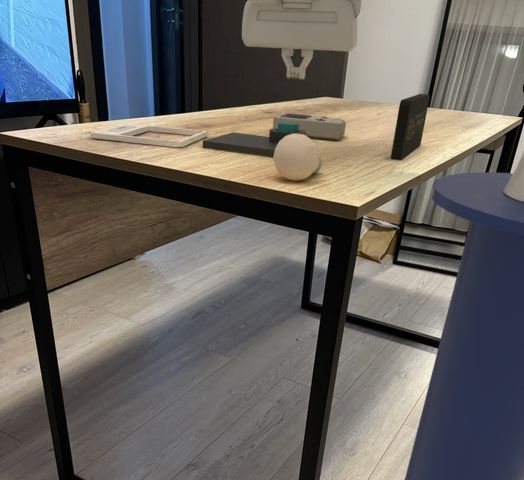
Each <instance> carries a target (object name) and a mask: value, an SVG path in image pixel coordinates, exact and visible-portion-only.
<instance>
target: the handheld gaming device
mask: <svg viewBox="0 0 524 480" xmlns="http://www.w3.org/2000/svg"><path fill="white" fill-rule="evenodd" d="M272 119H273V120H272V129H273V128H278V122H295V123H299V130H303V131H305V132H306V136H307V137H308V138H310V139H320V140H330V141H339V140H340V139H341V138H342V137H343V136H345V134H346V133H345V132H346V127H347V123H346V121H345V120H344V119H341V118H337V117H328V116H321V115H314V114H313V115H311V114H301V113H290V112H283V113H280V114H277V115H274V116H273V118H272Z"/></svg>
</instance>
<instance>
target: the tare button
mask: <svg viewBox="0 0 524 480" xmlns="http://www.w3.org/2000/svg"><path fill="white" fill-rule="evenodd" d="M298 130H299V123H295V122H278V130H277V131H279V132H286V133H298Z"/></svg>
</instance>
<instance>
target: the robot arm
mask: <svg viewBox="0 0 524 480" xmlns="http://www.w3.org/2000/svg"><path fill="white" fill-rule="evenodd" d="M361 8H362V0H247V1H246V2H245V5H244V8H243V14H242V23H241V40H242V42H243V44H244V46H245V47H249V48H250V47H251V48H269V49H270V48H272V49H273V48H274V49H281V57H282V60H283V62H284V65H285V67H286V79H296V80H305V78H306V71H307V68H308V66H309V64H310V62H311V60H313V57H314V50H315V51H330V52H331V51H333V52H353V50H354V49H355V48H356V46H357V43H358V16H359V15H360V13H361ZM294 50H301V55H300V56H301V58H302V61H301V63H300V65H299V66H294V64H293V61H292V58H291V57H293V56H294ZM512 174H513V175H512V176H511V178H510V180H509V182H508V183H507V185H506V187H505V188H504V190H503V192H504V193H505V194H506V195H507V196H509V197H511V198H513V199H516V200H518V201H521V202H524V150H523V151H522V153H521V156H520V158H519V160H518V163H517V165H516V167H515V169H514V170H513V173H512Z"/></svg>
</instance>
